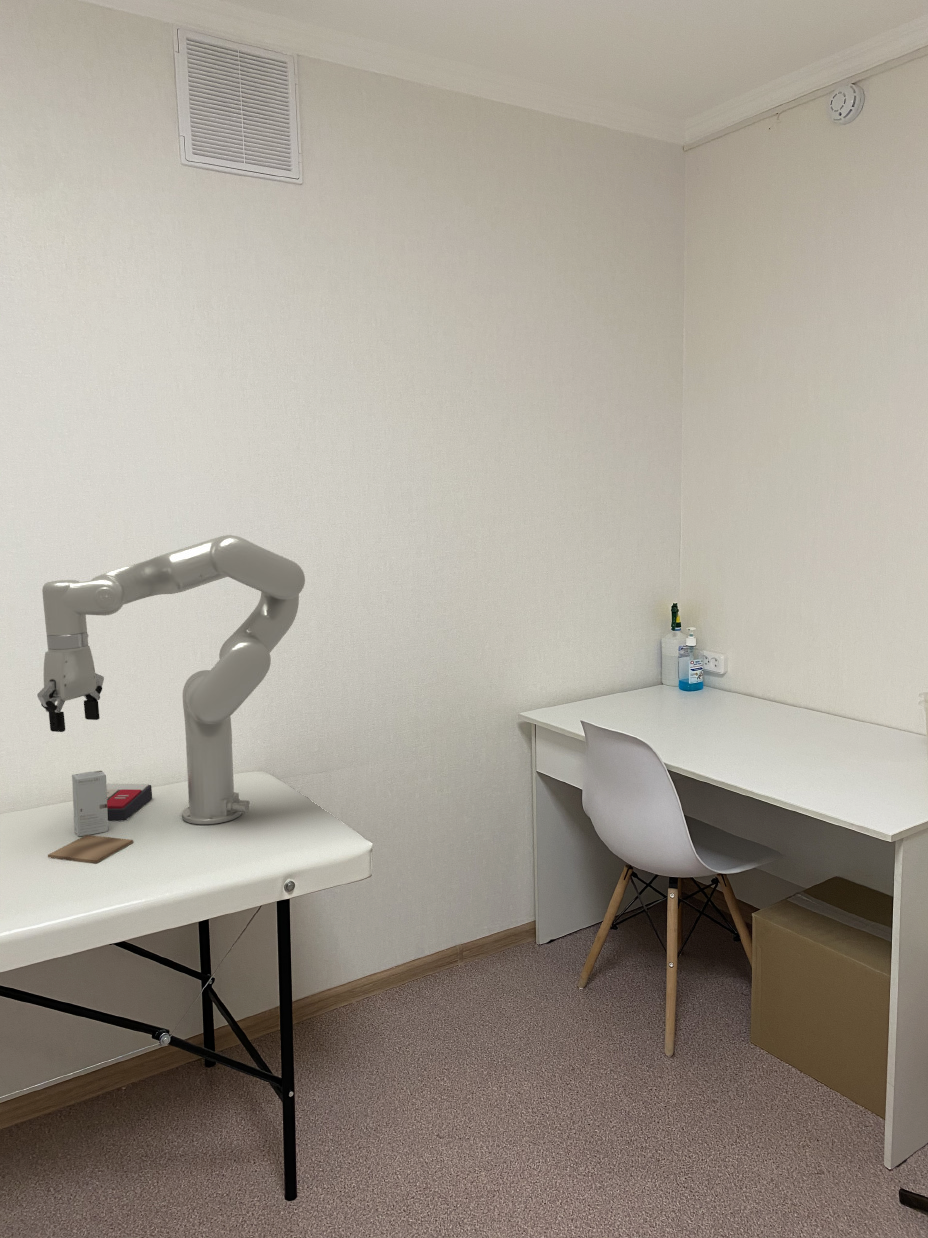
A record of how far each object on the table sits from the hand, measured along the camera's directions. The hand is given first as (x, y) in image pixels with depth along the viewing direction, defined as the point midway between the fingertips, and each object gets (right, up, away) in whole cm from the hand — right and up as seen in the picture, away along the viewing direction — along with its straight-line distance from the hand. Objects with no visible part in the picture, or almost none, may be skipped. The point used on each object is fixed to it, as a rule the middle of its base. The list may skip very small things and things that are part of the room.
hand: (75, 725), depth 186 cm
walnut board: (+6, -24, -7) cm, 25 cm away
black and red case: (+1, -21, +17) cm, 27 cm away
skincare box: (+2, -23, +4) cm, 23 cm away
